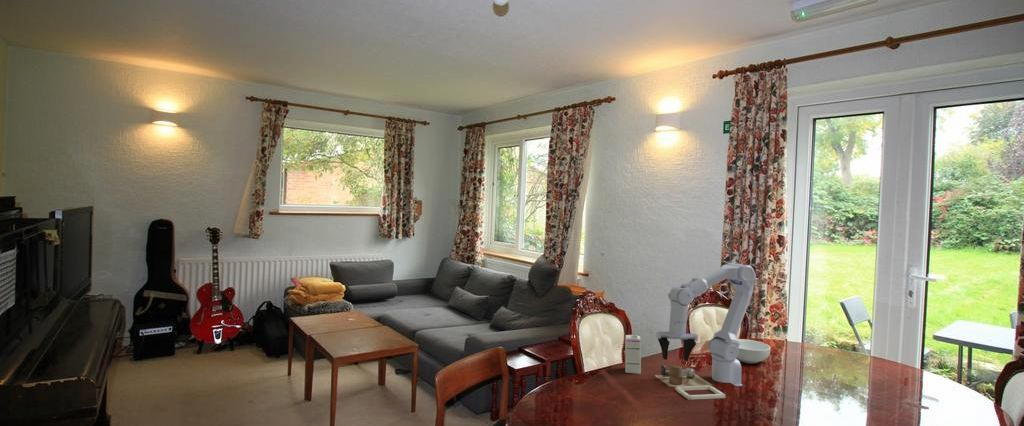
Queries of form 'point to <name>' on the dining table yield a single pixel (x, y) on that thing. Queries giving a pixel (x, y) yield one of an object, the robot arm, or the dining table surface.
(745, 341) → the cereal bowl
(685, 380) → the crank board
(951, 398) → the dining table surface
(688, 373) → the crank lever
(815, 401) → the dining table surface
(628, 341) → the syrup box
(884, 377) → the dining table surface
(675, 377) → the cylinder
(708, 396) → the tray
